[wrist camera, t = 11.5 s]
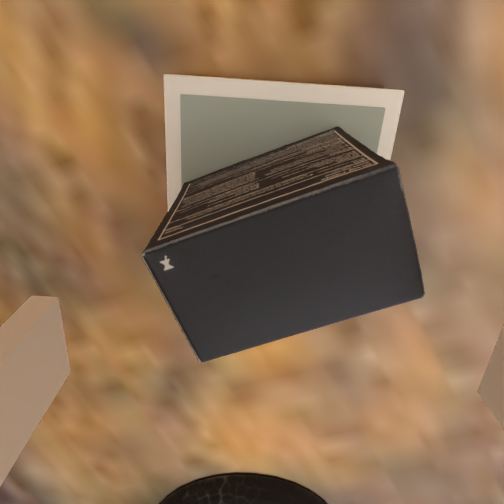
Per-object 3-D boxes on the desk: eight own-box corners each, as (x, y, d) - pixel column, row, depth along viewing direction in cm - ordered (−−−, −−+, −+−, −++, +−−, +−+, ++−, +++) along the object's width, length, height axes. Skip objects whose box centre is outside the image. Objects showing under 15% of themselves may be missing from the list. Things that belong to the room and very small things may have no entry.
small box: (218, 268, 27) (196, 372, 18) (179, 182, 25) (129, 250, 15) (367, 219, 26) (431, 305, 16) (341, 121, 23) (399, 155, 14)
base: (180, 261, 32) (169, 287, 28) (177, 74, 26) (162, 74, 22) (350, 272, 32) (362, 299, 28) (384, 88, 26) (406, 90, 22)
